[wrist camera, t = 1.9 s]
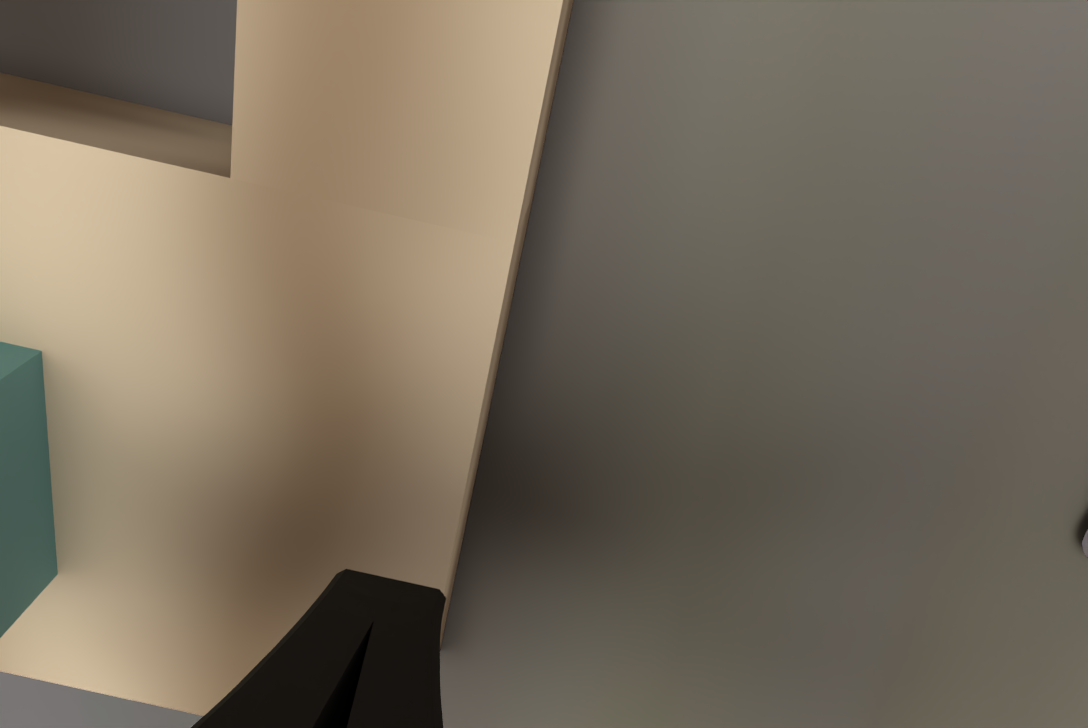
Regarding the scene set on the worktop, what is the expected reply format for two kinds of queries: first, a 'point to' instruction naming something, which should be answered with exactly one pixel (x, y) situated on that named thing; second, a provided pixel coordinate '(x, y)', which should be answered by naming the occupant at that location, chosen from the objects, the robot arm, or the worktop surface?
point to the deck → (256, 306)
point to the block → (24, 484)
